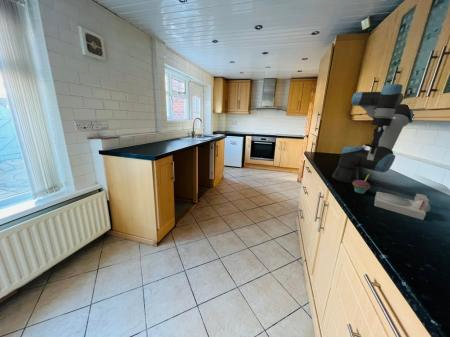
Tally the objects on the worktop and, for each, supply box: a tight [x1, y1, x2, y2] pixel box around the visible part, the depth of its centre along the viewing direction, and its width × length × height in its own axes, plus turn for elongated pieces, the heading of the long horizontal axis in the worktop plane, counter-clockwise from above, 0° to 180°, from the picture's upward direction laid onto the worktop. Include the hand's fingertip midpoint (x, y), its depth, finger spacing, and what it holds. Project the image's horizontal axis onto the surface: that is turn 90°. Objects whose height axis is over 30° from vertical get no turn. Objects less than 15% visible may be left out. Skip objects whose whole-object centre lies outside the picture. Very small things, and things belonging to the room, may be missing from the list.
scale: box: [374, 191, 431, 221], centre depth 89 cm, size 16×18×8 cm
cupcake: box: [352, 173, 372, 194], centre depth 104 cm, size 9×8×12 cm
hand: (370, 157), depth 100 cm, fingers open, 13 cm apart
